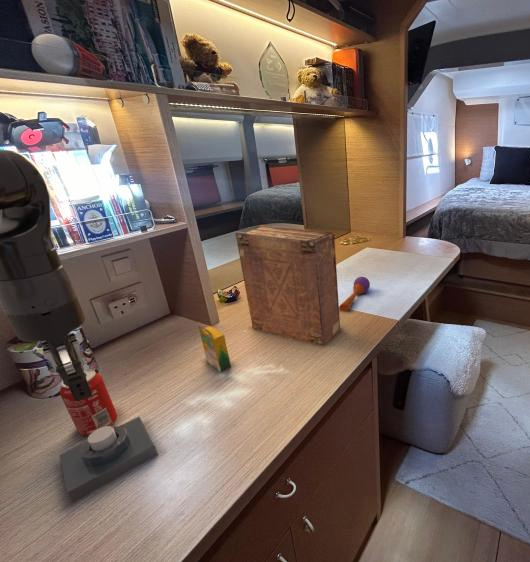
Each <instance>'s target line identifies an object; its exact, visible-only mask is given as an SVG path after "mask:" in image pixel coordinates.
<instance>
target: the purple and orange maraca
mask: <svg viewBox="0 0 530 562" xmlns="http://www.w3.org/2000/svg"><path fill="white" fill-rule="evenodd" d="M370 287H371V282H370V280H369V278H367V277H365V276H358V277H356V279H354V282H353V286H352V289H353V293H352V294H351V295H350V296H349V297H347V298H346V299H345V300H344V301H343V302H342V303H340V304H339V311H342V312H349V311H350V309H351V307H352V305H353V303H354V301H355V299H356V296H357V295H362V294H365V293H366V292H368V291H369V289H370Z"/></svg>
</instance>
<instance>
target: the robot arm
mask: <svg viewBox="0 0 530 562" xmlns="http://www.w3.org/2000/svg"><path fill="white" fill-rule="evenodd" d="M50 196H51V195H50V189H49V184H48V182H47V179H46V177H45V175H44V174H43V172H42V171H41V170H40V168H39V166H37V164H36V163H35V162H34V161H32V159H30V157H27V156H26V155H24V154H23V153H20V152H17V151H14V150H9V149H0V304H1V307H2V308H3V311H4V312H5V315H6V316H7V319H8V321H9V323H10V325H11V327H12V329H13V332H14V334H15V335H16V337H17V338H18V340H20V341H21V342H22V341H23V342H27V343H37V342H40V345H41V347H42V349H41V350H42V352H43V354H44V357H45V359H46V360H47V361H49V363H50V364H51V366H52V369H53V370H54V372H55V374H56V375H59V377H60V379H61V380H62V381H63V383H64V385H66V387H67V386H68V387H69V389H70V391H71V393H72V395H73V398H74V400H75V401H81V400H83V399H86V398H88V397H90V396H91V395H92V392H91V389H90V387H89V385H88V382H87V380H86V379H87V378H86V376H87V375H86V372H84V371H83V370H85V368H84V366H85V365H86V363H85V360H84V358H83V355H82V352H81V350H82V347H81V344H80V343H79V340H78V337H77V335H76V333H75V332H74V331H76V330H78V329H79V328H80V327H82V326H83V325H84V324H85V322H86V317H85V314H84V311H83V309H82V306H81V303H80V301H79V298H78V295H77V294H76V291H75V288H74V285H73V283H72V280H71V279H70V277H69V275H68V273H67V271H66V270H65V268H64V266H63V264H62V261H61V258H60V256H59V254H58V251H57V248H56V247H55V243H54V242H53V239H52V221H51V220H52V219H51V199H50Z"/></svg>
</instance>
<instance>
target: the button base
mask: <svg viewBox="0 0 530 562" xmlns="http://www.w3.org/2000/svg"><path fill="white" fill-rule="evenodd" d="M112 427H113V428H114V431H115V433H116V436H117V440H116V442H115V443H114V444H112V445H111V446H110V447H108V448H106V449H104V450H101V451H97V452H94V451H92V449H91V447H90V445H89V443H88V439H86V440H85V441H84V442H83V443H81V444H79V445H76V446H75V447H73V448H71V449H68V450H66V451H64V452H62V453H61V454H59V459H60V464H61V469H62V474H63V478H64V483H65V489H66V493H67V495H68V497H69V499H70V501H71V502H72V503H75V502H77V501H78V500H80V499H82V498H84V497H87V495H90V494H91V493H93V492H94V491H96V490H98V489H100V488H102V487H104V486H106V485H107V484H109V483H110V482H113V481H114V480H116V479H118V478H119V477H122V476H123V475H125V474H127V473H128V472H130V471H131V470H133V469H136V468H137V467H139V466H141V465H143V464H144V463H146V462H148V461H150V460H151V459H153V458H155V457H156V456H159V452H158V450H157V448H156V445H155V443H154V441H153V439H152V437H151V435H150V433H149V431H148V430H147V428H146V425H145V424H144V422H143V421H142V419H141V417H140V416H137V417H135V418H133V419H131V420H129V421H127V422H124V423H123V424H120V425H119V426H117V425H116V426H112Z"/></svg>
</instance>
